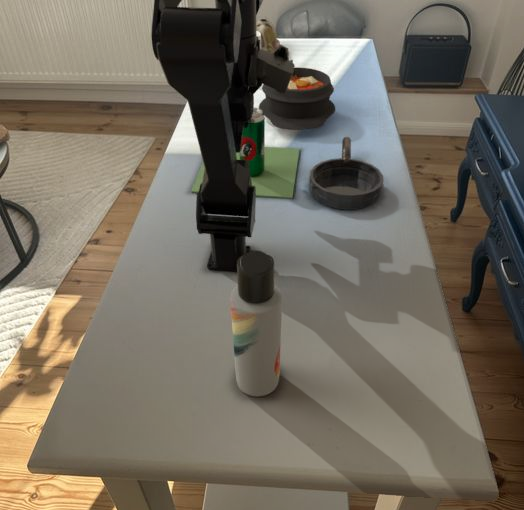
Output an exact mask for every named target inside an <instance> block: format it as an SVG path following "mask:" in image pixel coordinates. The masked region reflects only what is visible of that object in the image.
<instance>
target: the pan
mask: <svg viewBox="0 0 524 510" xmlns="http://www.w3.org/2000/svg"><path fill="white" fill-rule="evenodd" d="M344 160H345V159H343V158H342V157H339V158H330V159H326V160H324V161H320V162H319V163H317V164H315V165H314V166H313V167H312V169H311V170H310V172H309V182H308V192H309V194H310V196H311V197H312V198H313V199H314V200H315V201H317V202H318V203H320V204H322V205H324V206H326V207H329V208H333V209H338V210H357V209H358V210H359V209H364V208H367V207H369V206H372V205H373V204H374V203H376V202H377V201H378V200H379V199H380V197H381V194H382V191H383V185H384V175H383V173H382V172H381V170H380V169H379V168H377V166H375V165H373V164H371V163H369V162H366V161H364V160H360V159H357V158H356V159H355V158H351V159H349V162H350V163H349V165H347V166H345V165H344V164H343V161H344Z"/></svg>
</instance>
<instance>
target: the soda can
mask: <svg viewBox="0 0 524 510" xmlns="http://www.w3.org/2000/svg"><path fill="white" fill-rule="evenodd" d="M253 110H254V111H253V115H252V118H251V119H250V120H249V124H248V127H247V128H243V135H242V143H241V149H240V152H239V155H240V160H246V161H247V162H248V163H249V170H250V176H251V177H254V176H258V175H260V174H262V173H263V171H264V169H265V147H266V143H265V141H266V139H265V133H266V131H265V129H266V128H265V127H266V126H265V125H266V124H265V122H266V121H265V120H266V117H265V116H264V115H263V112H262V110H261V109H259V107H254V108H253Z"/></svg>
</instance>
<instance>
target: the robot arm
mask: <svg viewBox="0 0 524 510" xmlns="http://www.w3.org/2000/svg"><path fill="white" fill-rule="evenodd" d="M182 1H183V0H153V10H152V21H151V33H150V34H151V35H150V36H151V37H150V38H151V46H152V51H153V55H154V57H155V59H156V60H157V61H158V62H159V64H160V67H161V70H162V73H163V75H164V78H165V80H166V83H167V84H168V85H169V86H170V87H172V88H173V89H174V91H176V92H177V93H178V94H179V95H181V96H182V97H183V98H184V99H185V100H186V101H187V104H188V107H189V111H190V116H191V120H192V123H193V127H194V131H195V135H196V139H197V142H198V146H199V151H200V154H201V158H202V164H203V163H204V166H205V170H204V176H203V182H202V183H201V184H200V188H199V191H198V192H197V193H196V200H195V201H196V203H195V222H196V230H197V233H198V234H199V235H203V234H204V235H209V240H210V249H211V251H210V254H209V258H208V261H207V264H206V268H207V270H214V271H226V272H229V271H230V272H237V260H238V258H239V257H241V256H243V255H244V254H245V253H247V252H250V251H252V247H251V246H250V245H247V238H252V236H253V231H254V227H255V223H256V203H257V196H256V187H255V186H252V181H251V176H250V170H249V163H248V162H247V161H246V160H237V157H236V153H239V152H240V149H241V143H242V135H243V128H247V127H248V124H249V120H250V119H251V118H252V115H253V111H254V110H253V108H255V106H254V105H255V96H254V95H255V94H256V92H257V91H258V90H259V89H260V88H262V86H263V84H264V85H266V86H269V87H271V88H273V89H276V91H277V92H279V93H286V90H287V88H288V85H289V82H290V80H291V77H292V74H293V71H294V68H295V65H296V64H295V63H294V60H292V59H290V51H289V47H287V46H285V45H283V44H280V45H279V46H278V47H277V48H276V49H275V50H274V51H273V52H271V51H270V50H269V52H267V51H265V50H262V49H261V47H260V40H258V36H256V25H257V15H258V13H259V10H260V8H261V6H262V4H263V1H264V0H214V5H215V6H214V7H189V6H187V7H186V6H179V5H180V4H181V2H182ZM246 237H247V238H246Z"/></svg>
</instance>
